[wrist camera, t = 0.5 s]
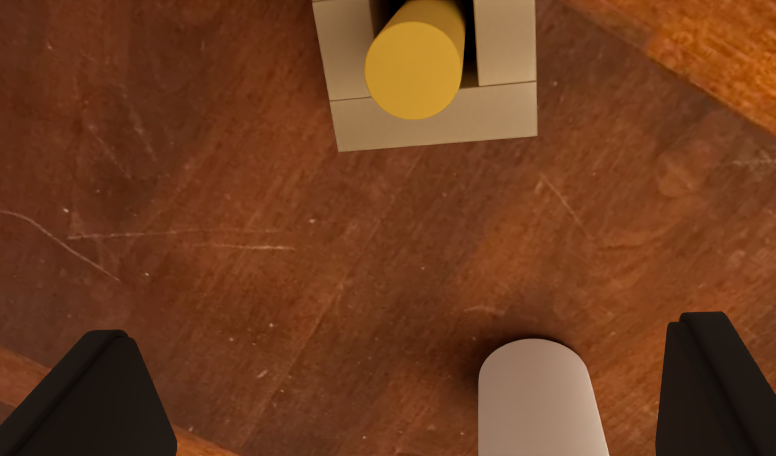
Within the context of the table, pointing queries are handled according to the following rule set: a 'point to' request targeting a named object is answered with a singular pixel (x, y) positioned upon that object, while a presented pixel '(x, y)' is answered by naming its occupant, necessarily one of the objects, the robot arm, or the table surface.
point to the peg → (418, 59)
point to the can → (537, 403)
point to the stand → (474, 97)
